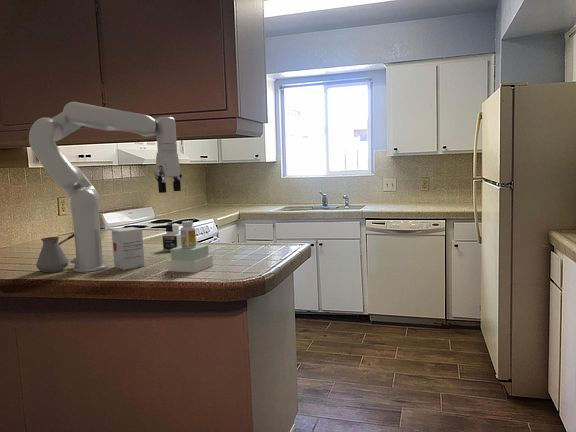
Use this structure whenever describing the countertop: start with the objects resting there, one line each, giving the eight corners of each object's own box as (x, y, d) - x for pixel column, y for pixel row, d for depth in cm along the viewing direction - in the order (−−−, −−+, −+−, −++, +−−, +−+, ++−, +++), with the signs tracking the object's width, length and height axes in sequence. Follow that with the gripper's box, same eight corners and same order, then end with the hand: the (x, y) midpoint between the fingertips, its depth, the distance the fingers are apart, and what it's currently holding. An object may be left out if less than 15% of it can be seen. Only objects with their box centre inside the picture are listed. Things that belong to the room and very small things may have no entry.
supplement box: (113, 267, 196) (110, 229, 194) (135, 263, 202) (132, 226, 200) (123, 270, 189) (120, 231, 188) (145, 266, 195) (142, 228, 194)
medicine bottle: (163, 250, 230) (161, 224, 229) (170, 248, 237) (168, 222, 236) (177, 250, 228) (175, 224, 227) (184, 248, 235) (182, 222, 234)
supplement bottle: (197, 245, 189) (195, 220, 188) (195, 248, 184) (193, 221, 183) (182, 246, 189) (181, 220, 188) (180, 248, 183) (178, 222, 182)
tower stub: (167, 271, 184) (166, 249, 183) (186, 264, 195) (185, 244, 194) (195, 272, 179) (194, 250, 178) (213, 265, 190) (211, 244, 189)
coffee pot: (46, 275, 186) (42, 235, 184) (31, 272, 193) (27, 233, 191) (97, 264, 203) (94, 228, 201) (82, 262, 210) (79, 226, 208)
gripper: (172, 149, 207) (175, 190, 209) (145, 149, 192) (148, 193, 193) (187, 148, 204) (190, 190, 206) (161, 148, 189) (164, 193, 190)
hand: (170, 191), depth 200 cm, fingers open, 9 cm apart
